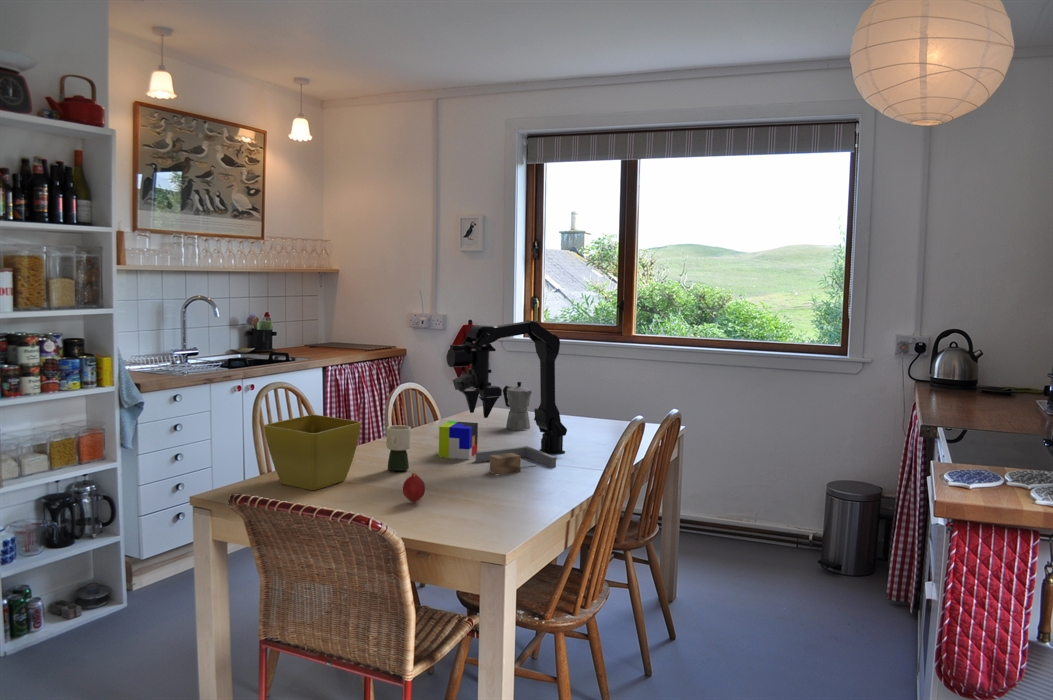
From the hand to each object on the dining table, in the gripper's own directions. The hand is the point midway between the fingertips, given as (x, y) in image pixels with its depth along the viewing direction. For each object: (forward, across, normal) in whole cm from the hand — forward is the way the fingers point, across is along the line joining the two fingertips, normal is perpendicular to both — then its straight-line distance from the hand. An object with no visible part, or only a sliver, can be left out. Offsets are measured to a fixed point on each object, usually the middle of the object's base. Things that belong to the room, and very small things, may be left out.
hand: (478, 415), depth 245 cm
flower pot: (+15, +2, -53) cm, 55 cm away
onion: (+15, +32, -36) cm, 50 cm away
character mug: (+15, 0, -27) cm, 31 cm away
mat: (+15, +8, +10) cm, 19 cm away
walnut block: (+15, +15, +1) cm, 21 cm away
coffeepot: (+15, -40, +38) cm, 58 cm away
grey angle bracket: (+15, +8, +9) cm, 19 cm away
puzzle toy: (+15, -10, -2) cm, 18 cm away
